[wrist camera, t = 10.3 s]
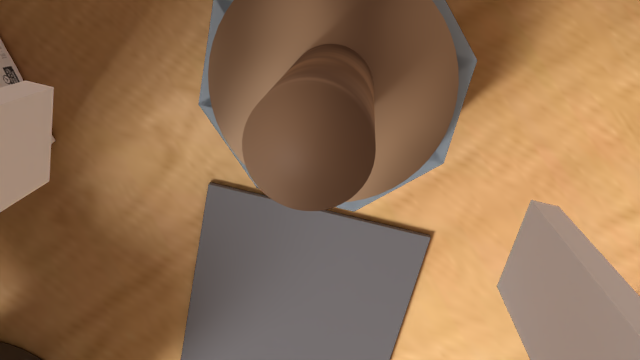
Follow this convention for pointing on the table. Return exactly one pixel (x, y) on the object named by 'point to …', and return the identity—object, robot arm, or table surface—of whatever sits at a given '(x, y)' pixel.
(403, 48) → the lid
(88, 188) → the table surface
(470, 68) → the bowl
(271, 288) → the mat
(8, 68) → the tea box
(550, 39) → the table surface
